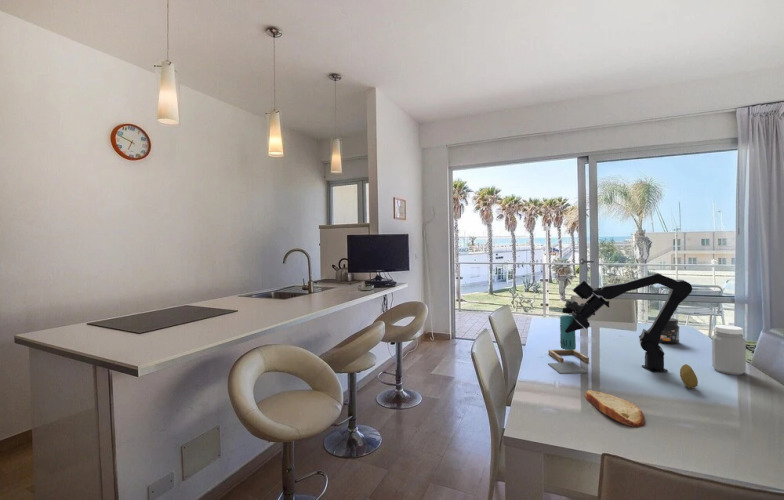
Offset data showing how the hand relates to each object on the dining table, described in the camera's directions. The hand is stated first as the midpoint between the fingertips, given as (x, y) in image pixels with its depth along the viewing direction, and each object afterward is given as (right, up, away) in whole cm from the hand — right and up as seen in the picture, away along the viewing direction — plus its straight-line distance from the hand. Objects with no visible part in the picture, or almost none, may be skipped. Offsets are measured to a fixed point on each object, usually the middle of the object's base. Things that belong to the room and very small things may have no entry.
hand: (564, 330), depth 160 cm
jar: (+57, -12, -19) cm, 62 cm away
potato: (+29, -13, -33) cm, 46 cm away
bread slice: (-8, -15, -47) cm, 50 cm away
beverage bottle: (+2, -10, 0) cm, 10 cm away
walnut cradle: (+2, -13, +1) cm, 13 cm away
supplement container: (+64, -11, +22) cm, 69 cm away
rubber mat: (-5, -14, -12) cm, 18 cm away
